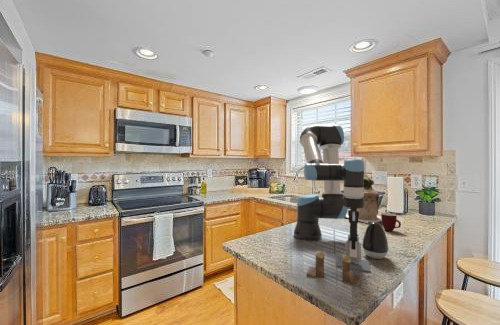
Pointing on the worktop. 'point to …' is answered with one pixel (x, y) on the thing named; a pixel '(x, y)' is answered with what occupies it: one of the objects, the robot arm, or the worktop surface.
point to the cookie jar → (369, 204)
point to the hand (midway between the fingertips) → (353, 254)
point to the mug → (389, 221)
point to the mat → (356, 265)
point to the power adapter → (357, 250)
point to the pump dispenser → (375, 241)
